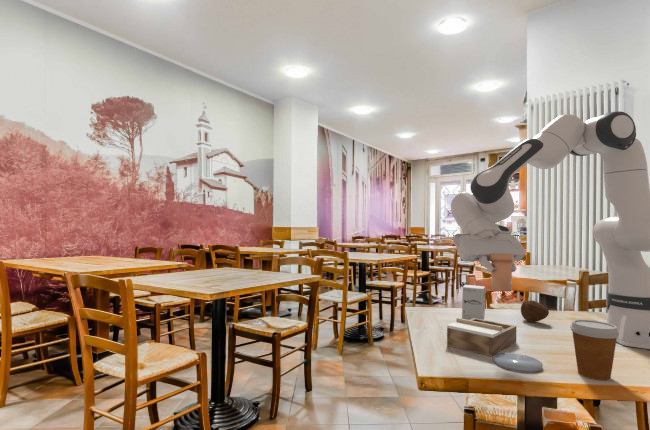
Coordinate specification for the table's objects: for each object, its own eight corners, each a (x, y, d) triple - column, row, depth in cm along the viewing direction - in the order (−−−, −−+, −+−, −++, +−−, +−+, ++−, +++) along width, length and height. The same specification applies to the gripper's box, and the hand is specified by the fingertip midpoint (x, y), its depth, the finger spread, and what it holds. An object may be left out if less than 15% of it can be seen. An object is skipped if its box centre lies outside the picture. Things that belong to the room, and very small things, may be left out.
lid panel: (502, 333, 106) (502, 326, 106) (492, 337, 101) (492, 330, 101) (457, 323, 115) (458, 317, 115) (447, 327, 111) (447, 321, 111)
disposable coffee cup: (560, 367, 94) (560, 319, 94) (597, 367, 95) (597, 319, 95) (590, 384, 85) (590, 329, 85) (630, 383, 85) (630, 329, 86)
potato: (526, 318, 146) (526, 297, 146) (553, 324, 137) (553, 302, 138) (515, 320, 142) (515, 299, 142) (541, 326, 134) (541, 304, 134)
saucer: (548, 364, 96) (548, 360, 96) (534, 376, 88) (534, 372, 88) (502, 353, 104) (502, 350, 104) (486, 363, 96) (486, 359, 96)
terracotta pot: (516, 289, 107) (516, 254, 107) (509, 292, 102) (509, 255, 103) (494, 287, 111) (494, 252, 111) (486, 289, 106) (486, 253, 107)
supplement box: (461, 321, 139) (461, 286, 139) (464, 317, 146) (464, 284, 146) (483, 324, 136) (483, 288, 136) (485, 319, 142) (485, 285, 142)
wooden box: (516, 342, 114) (516, 326, 114) (492, 356, 101) (492, 337, 101) (473, 333, 123) (473, 318, 123) (447, 345, 110) (447, 327, 111)
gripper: (455, 226, 111) (475, 263, 101) (514, 227, 116) (539, 263, 106) (446, 241, 115) (465, 278, 106) (503, 241, 120) (527, 277, 111)
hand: (503, 270), depth 106 cm, fingers closed on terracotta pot, 5 cm apart
